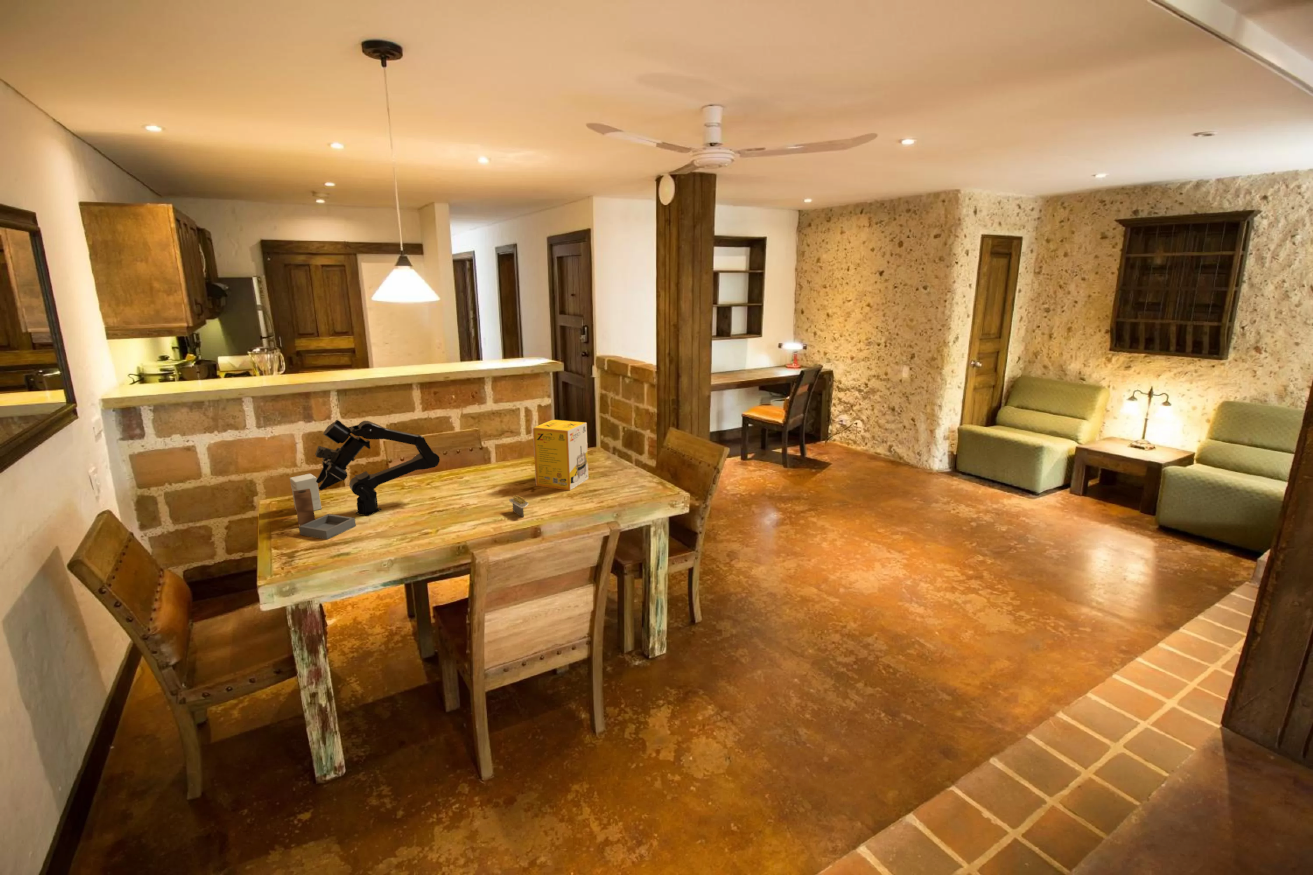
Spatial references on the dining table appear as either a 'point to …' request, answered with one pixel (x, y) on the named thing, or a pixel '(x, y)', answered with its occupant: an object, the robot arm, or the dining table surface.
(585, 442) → the packaging box
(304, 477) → the supplement box
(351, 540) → the dining table surface
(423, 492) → the dining table surface
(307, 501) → the block
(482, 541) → the dining table surface
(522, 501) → the platform
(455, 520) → the dining table surface
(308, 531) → the tray
